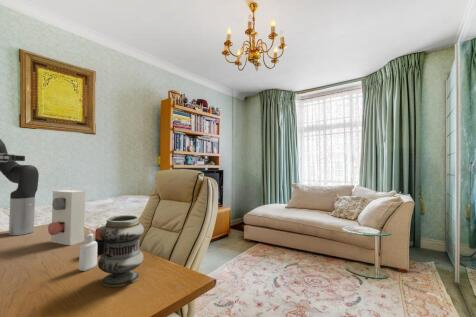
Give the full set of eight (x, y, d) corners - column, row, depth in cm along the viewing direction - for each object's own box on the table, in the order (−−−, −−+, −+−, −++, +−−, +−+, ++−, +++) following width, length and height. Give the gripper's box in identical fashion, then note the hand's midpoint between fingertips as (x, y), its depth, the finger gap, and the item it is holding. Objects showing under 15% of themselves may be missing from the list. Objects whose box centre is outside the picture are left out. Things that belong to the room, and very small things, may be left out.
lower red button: (55, 235, 100) (56, 223, 100) (47, 234, 102) (48, 222, 102) (72, 231, 106) (72, 220, 107) (64, 230, 108) (65, 219, 108)
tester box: (70, 245, 102) (71, 192, 103) (51, 242, 106) (52, 191, 107) (83, 241, 107) (85, 191, 108) (65, 238, 112) (66, 189, 113)
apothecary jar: (113, 294, 64) (115, 224, 64) (88, 282, 70) (90, 218, 71) (151, 276, 74) (153, 216, 74) (127, 267, 80) (128, 212, 81)
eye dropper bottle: (100, 267, 81) (101, 230, 81) (80, 272, 76) (82, 233, 77) (94, 263, 83) (95, 227, 84) (75, 268, 79) (77, 231, 79)
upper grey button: (60, 210, 102) (60, 198, 102) (52, 209, 103) (52, 197, 104) (76, 208, 108) (76, 196, 108) (68, 207, 110) (69, 196, 110)
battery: (117, 250, 96) (118, 225, 96) (98, 255, 91) (99, 228, 91) (113, 248, 99) (113, 223, 99) (94, 252, 94) (95, 226, 94)
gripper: (-24, 145, 84) (34, 149, 100) (-44, 146, 89) (14, 149, 105) (-25, 167, 84) (33, 167, 100) (-45, 167, 88) (13, 167, 105)
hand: (23, 158), depth 102 cm, fingers closed
